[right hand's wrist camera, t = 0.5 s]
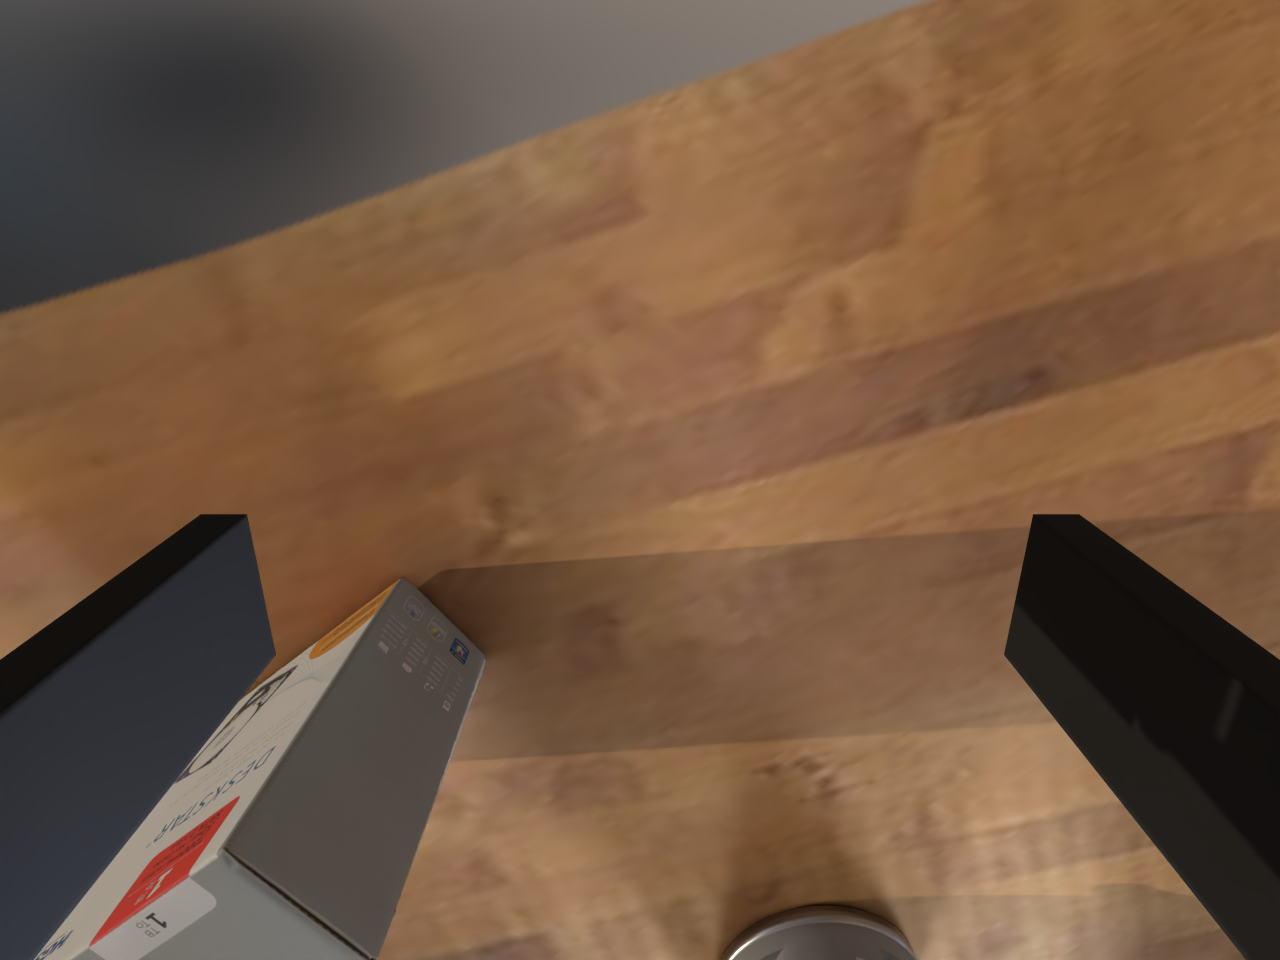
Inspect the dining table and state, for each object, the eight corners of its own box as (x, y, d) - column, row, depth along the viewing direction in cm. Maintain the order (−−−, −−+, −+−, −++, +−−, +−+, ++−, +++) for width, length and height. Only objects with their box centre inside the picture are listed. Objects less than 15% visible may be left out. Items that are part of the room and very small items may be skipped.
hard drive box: (404, 569, 44) (228, 846, 25) (491, 655, 46) (390, 969, 27) (229, 703, 47) (-39, 1035, 29) (318, 778, 49) (123, 1131, 31)
